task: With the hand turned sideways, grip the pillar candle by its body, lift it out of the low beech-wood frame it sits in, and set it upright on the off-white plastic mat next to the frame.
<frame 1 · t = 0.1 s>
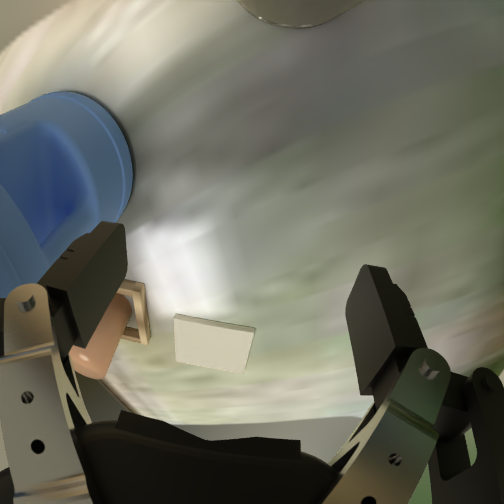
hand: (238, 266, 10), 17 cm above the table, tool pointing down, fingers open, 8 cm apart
pillar candle: (89, 330, 34), in the wooden frame
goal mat: (212, 344, 41), on the table
water jug: (70, 163, 27), on the table
wooden frame: (111, 304, 38), on the table
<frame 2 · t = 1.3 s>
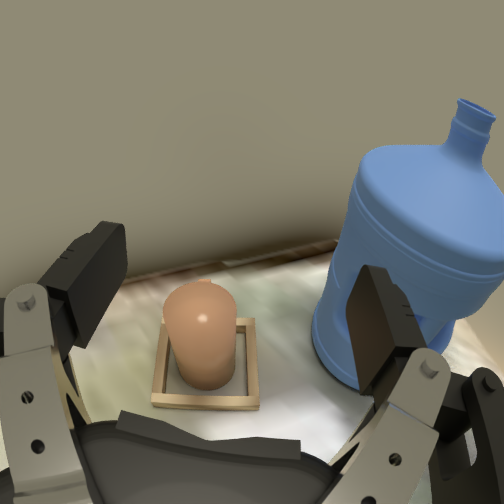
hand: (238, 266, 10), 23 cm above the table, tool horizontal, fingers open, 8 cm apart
pillar candle: (204, 331, 29), in the wooden frame
water jug: (372, 338, 35), on the table
wooden frame: (206, 364, 32), on the table
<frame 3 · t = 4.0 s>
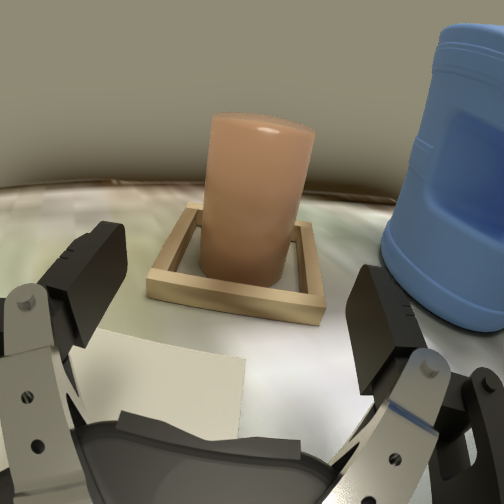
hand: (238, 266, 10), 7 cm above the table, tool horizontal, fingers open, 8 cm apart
pillar candle: (252, 192, 21), in the wooden frame
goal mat: (117, 433, 11), on the table
water jug: (448, 279, 25), on the table
wooden frame: (241, 262, 23), on the table
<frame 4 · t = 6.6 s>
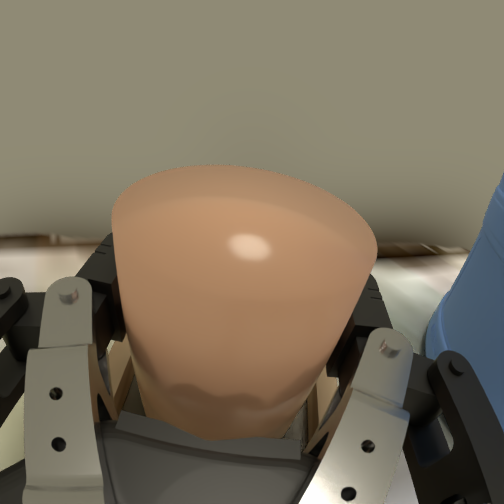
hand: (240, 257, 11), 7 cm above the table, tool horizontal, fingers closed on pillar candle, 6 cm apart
pillar candle: (229, 326, 11), in the wooden frame, touching gripper
water jug: (501, 381, 15), on the table
wooden frame: (216, 417, 13), on the table
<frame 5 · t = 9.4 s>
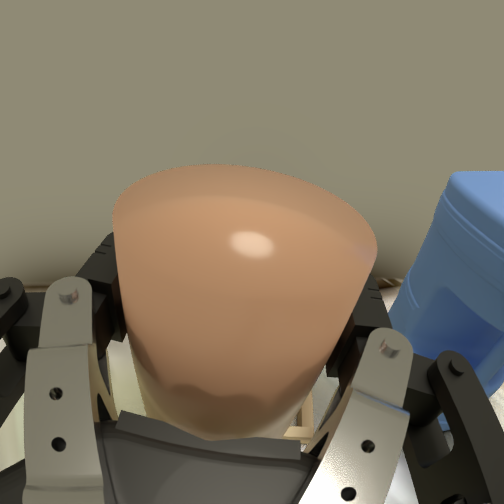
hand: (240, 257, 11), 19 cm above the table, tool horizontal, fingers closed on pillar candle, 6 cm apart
pillar candle: (230, 325, 11), point 17 cm above the table, touching gripper
water jug: (422, 377, 30), on the table
wooden frame: (251, 389, 27), on the table
when the fingers open (9 cm above the table, at t = 12.2 s): pillar candle drops 1 cm, resting on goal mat.
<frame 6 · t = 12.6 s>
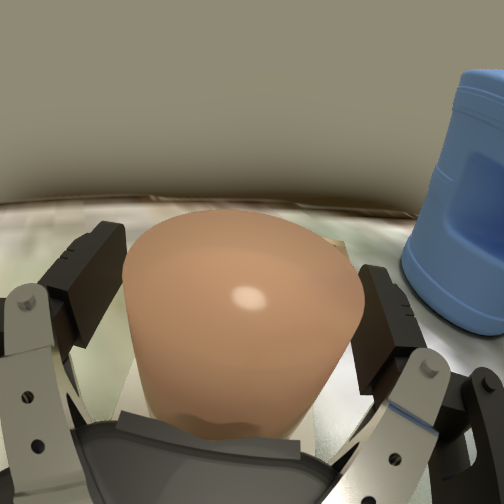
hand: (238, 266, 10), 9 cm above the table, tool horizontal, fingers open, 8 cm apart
pillar candle: (231, 355, 11), on the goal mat, point 6 cm above the table
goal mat: (213, 435, 14), on the table
water jug: (458, 289, 28), on the table
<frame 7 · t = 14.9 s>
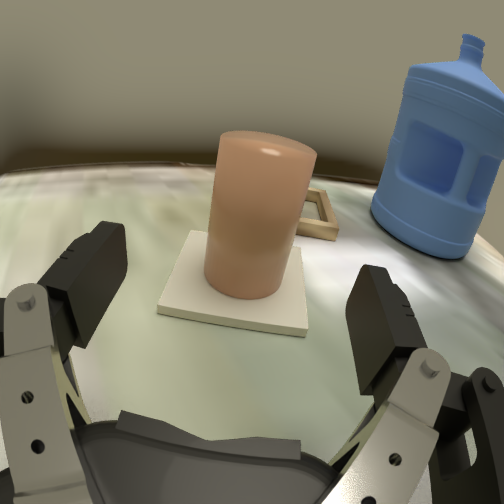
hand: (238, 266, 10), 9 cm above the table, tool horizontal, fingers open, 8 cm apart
pillar candle: (255, 207, 22), on the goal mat, point 6 cm above the table
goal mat: (238, 280, 25), on the table
water jug: (419, 230, 39), on the table
wooden frame: (285, 210, 36), on the table
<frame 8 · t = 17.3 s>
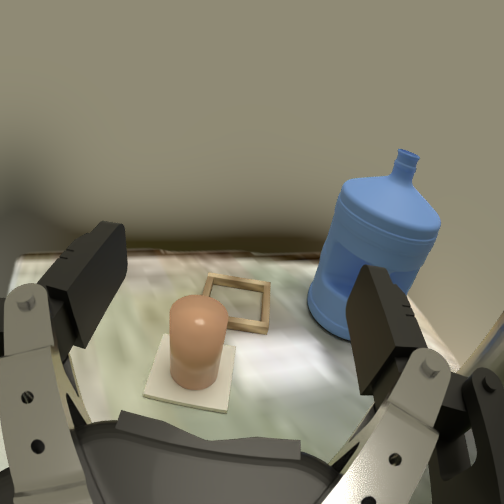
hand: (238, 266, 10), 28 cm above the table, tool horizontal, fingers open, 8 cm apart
pillar candle: (197, 338, 35), on the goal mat, point 6 cm above the table
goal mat: (192, 373, 37), on the table
water jug: (348, 311, 52), on the table
wooden frame: (235, 305, 49), on the table
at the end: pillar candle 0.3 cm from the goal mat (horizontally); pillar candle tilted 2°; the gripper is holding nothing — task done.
